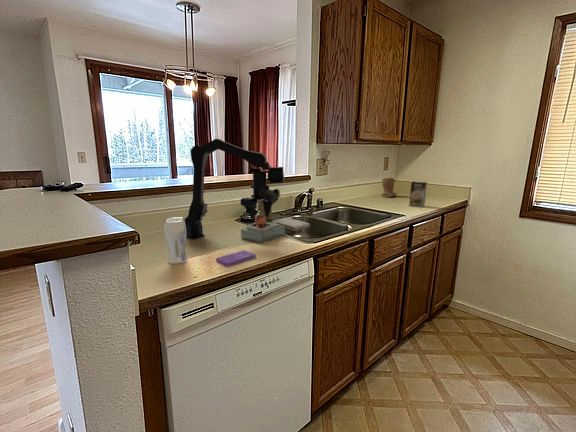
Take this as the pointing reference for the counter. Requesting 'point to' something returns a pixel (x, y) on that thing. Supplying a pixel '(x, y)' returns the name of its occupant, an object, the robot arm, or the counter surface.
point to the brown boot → (388, 187)
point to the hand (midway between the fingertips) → (260, 218)
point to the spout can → (260, 220)
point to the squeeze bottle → (261, 208)
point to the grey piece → (262, 232)
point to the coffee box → (418, 194)
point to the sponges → (235, 258)
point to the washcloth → (292, 224)
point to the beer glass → (176, 239)
